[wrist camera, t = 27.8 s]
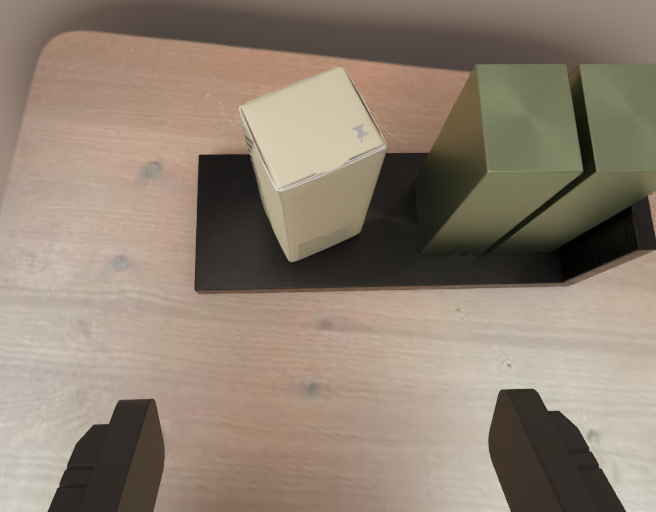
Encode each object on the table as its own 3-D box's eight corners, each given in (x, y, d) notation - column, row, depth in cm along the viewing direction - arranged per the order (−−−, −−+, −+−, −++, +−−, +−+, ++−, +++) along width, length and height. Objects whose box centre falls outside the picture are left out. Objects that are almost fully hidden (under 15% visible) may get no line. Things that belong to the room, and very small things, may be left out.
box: (332, 176, 35) (350, 56, 23) (362, 235, 35) (396, 144, 22) (257, 207, 35) (233, 101, 22) (285, 268, 34) (277, 194, 21)
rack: (197, 294, 34) (128, 225, 21) (201, 161, 37) (141, 20, 23) (569, 286, 36) (737, 216, 22) (551, 158, 38) (693, 23, 24)
